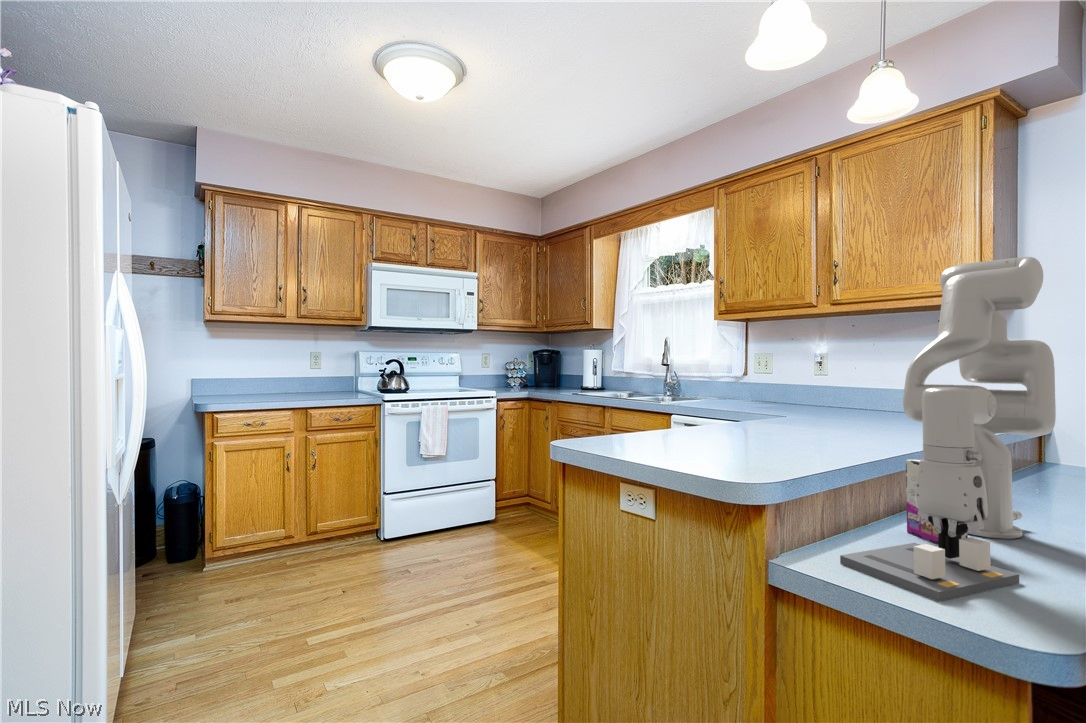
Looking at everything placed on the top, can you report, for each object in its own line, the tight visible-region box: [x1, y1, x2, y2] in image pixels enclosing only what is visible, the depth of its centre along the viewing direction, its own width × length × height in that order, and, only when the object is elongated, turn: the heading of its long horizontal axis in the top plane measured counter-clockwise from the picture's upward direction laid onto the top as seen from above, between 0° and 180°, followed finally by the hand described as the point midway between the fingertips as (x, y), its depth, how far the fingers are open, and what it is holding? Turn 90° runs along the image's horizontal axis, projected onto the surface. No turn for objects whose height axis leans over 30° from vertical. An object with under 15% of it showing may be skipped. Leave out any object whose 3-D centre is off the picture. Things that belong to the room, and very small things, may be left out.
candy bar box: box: [905, 458, 969, 545], centre depth 115 cm, size 11×5×16 cm, turn 5°
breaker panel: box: [839, 542, 1020, 602], centre depth 97 cm, size 20×18×2 cm
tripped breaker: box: [959, 536, 992, 571], centre depth 94 cm, size 3×3×4 cm
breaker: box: [914, 543, 945, 579], centre depth 91 cm, size 3×3×4 cm
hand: (950, 556), depth 98 cm, fingers closed
